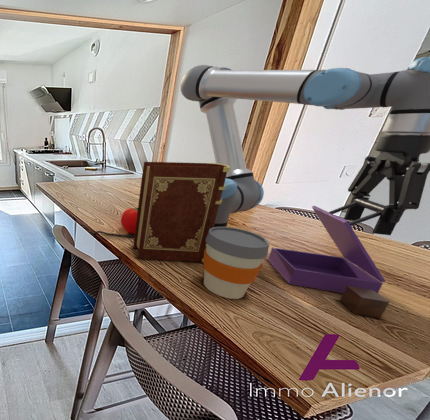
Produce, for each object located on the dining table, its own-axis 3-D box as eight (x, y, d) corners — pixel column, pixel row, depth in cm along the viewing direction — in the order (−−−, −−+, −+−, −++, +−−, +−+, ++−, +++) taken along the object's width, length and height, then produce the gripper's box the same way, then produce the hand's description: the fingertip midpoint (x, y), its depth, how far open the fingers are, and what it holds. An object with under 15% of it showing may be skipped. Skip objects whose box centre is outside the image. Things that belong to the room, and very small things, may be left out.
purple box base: (288, 283, 66) (294, 269, 65) (267, 260, 78) (272, 247, 76) (374, 298, 61) (383, 283, 59) (338, 271, 72) (344, 257, 71)
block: (353, 313, 56) (361, 297, 54) (339, 300, 60) (347, 285, 58) (380, 318, 54) (389, 302, 53) (364, 305, 58) (372, 289, 57)
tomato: (150, 240, 91) (154, 214, 87) (118, 236, 94) (121, 211, 91) (148, 228, 102) (152, 204, 98) (120, 224, 105) (123, 202, 101)
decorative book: (199, 250, 83) (219, 163, 74) (211, 263, 76) (235, 167, 66) (132, 247, 85) (143, 161, 76) (137, 259, 78) (150, 165, 68)
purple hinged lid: (344, 222, 58) (397, 203, 54) (311, 206, 70) (352, 189, 66) (381, 282, 59) (436, 268, 55) (343, 256, 71) (386, 243, 67)
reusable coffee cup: (235, 310, 56) (253, 253, 51) (186, 281, 67) (196, 231, 62) (263, 294, 62) (281, 241, 57) (213, 269, 72) (225, 223, 67)
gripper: (493, 136, 44) (429, 247, 51) (388, 133, 63) (353, 214, 70) (433, 135, 46) (380, 241, 54) (350, 133, 66) (319, 211, 73)
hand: (365, 226), depth 62 cm, fingers closed on purple hinged lid, 9 cm apart
